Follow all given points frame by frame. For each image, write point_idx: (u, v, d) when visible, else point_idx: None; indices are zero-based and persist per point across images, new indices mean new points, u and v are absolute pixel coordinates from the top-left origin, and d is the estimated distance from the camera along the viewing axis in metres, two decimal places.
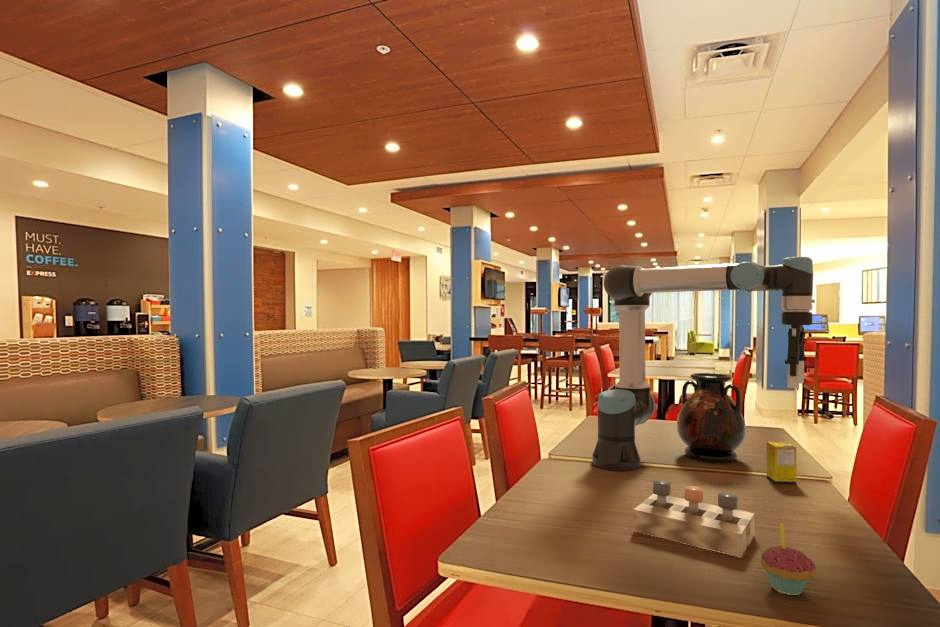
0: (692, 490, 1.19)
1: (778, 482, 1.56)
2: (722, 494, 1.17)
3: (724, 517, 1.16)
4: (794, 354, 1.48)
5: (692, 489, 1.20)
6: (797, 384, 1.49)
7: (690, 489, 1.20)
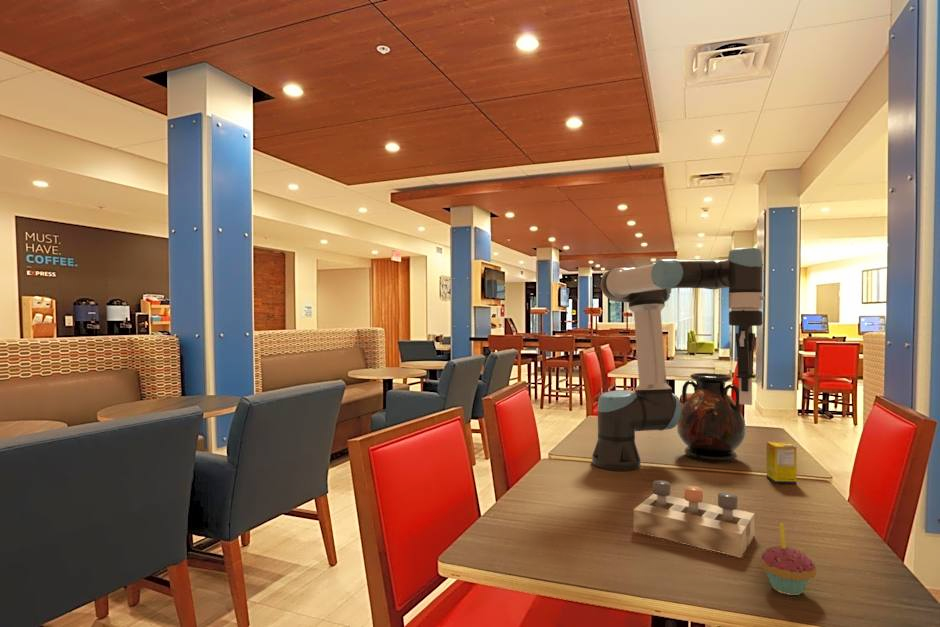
0: (692, 490, 1.19)
1: (778, 482, 1.56)
2: (722, 494, 1.17)
3: (724, 517, 1.16)
4: (745, 369, 1.32)
5: (692, 489, 1.20)
6: (749, 400, 1.35)
7: (690, 489, 1.20)
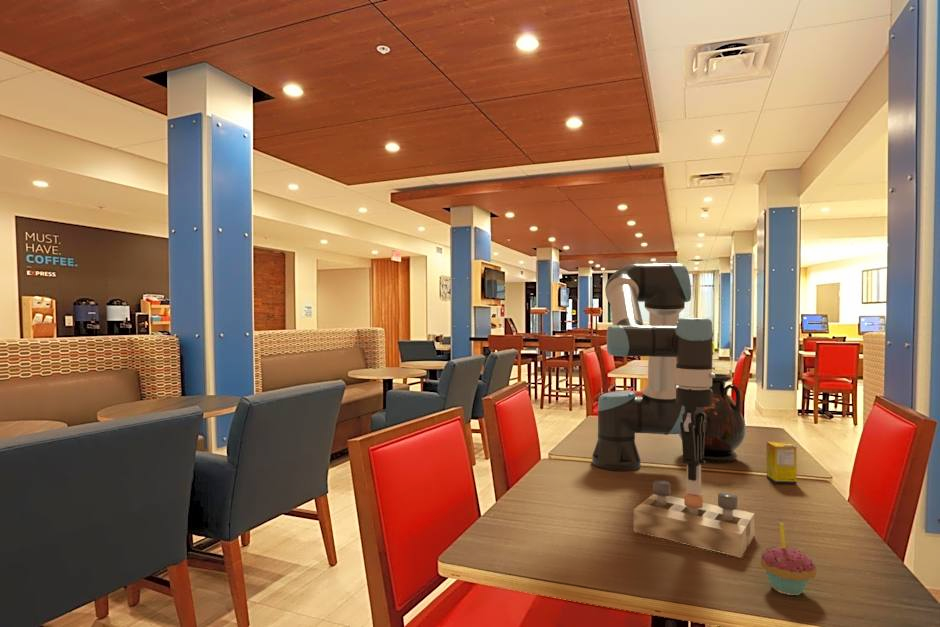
0: (692, 496, 1.19)
1: (778, 482, 1.56)
2: (722, 494, 1.17)
3: (724, 517, 1.16)
4: (690, 456, 1.17)
5: (692, 495, 1.20)
6: (697, 490, 1.19)
7: (690, 494, 1.20)
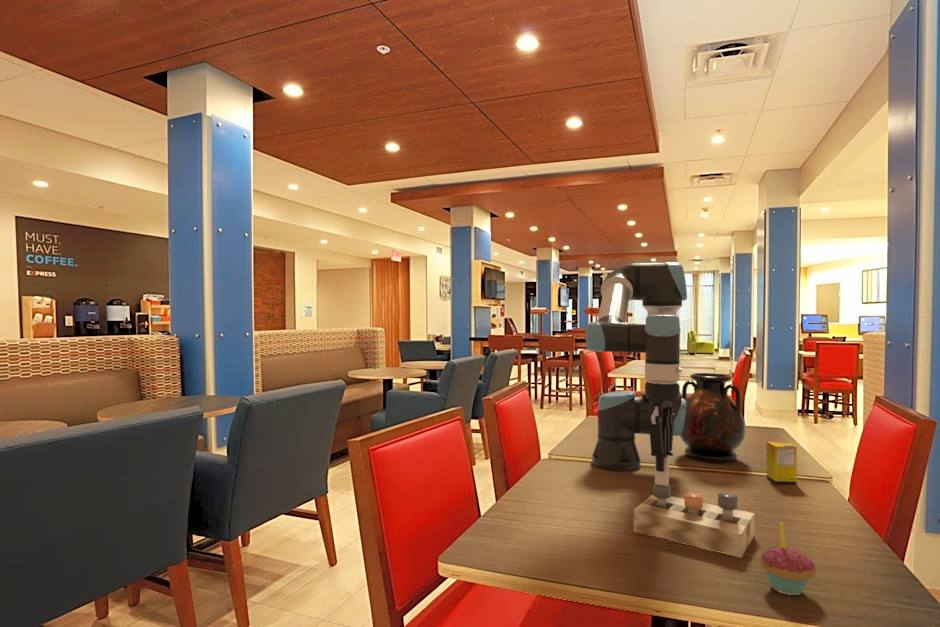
0: (692, 497, 1.19)
1: (778, 482, 1.56)
2: (722, 494, 1.17)
3: (724, 517, 1.16)
4: (658, 448, 1.21)
5: (692, 496, 1.20)
6: (665, 481, 1.23)
7: (690, 496, 1.20)
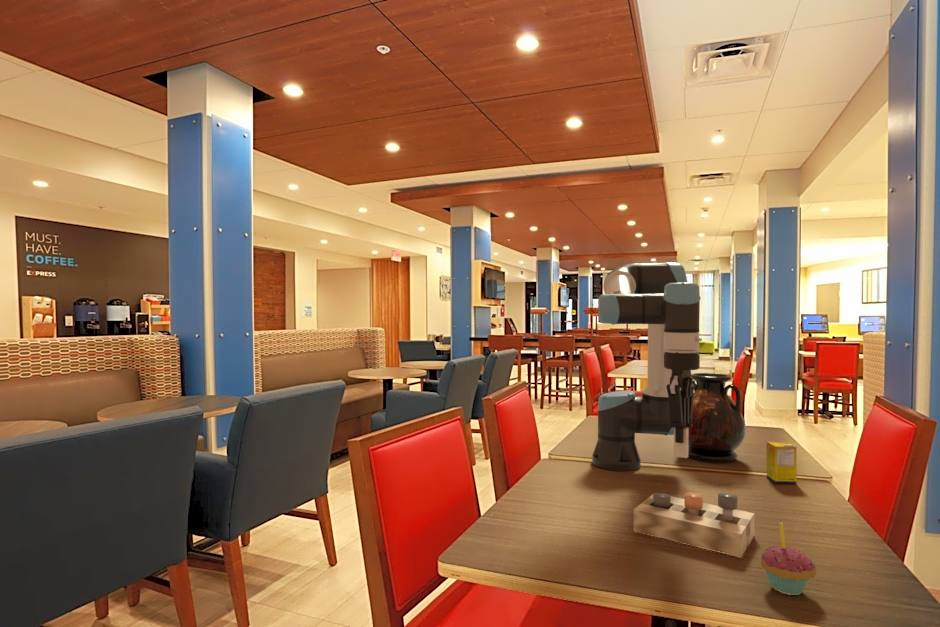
0: (692, 497, 1.19)
1: (778, 482, 1.56)
2: (722, 494, 1.17)
3: (724, 517, 1.16)
4: (677, 418, 1.18)
5: (692, 496, 1.20)
6: (684, 453, 1.20)
7: (690, 496, 1.20)
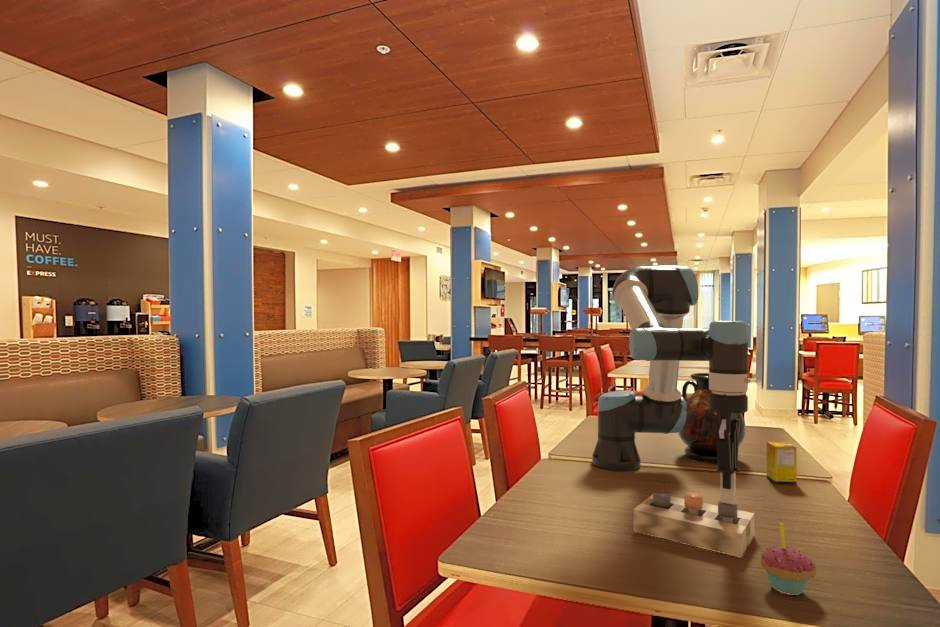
0: (692, 497, 1.19)
1: (778, 482, 1.56)
2: None
3: None
4: (726, 464, 1.13)
5: (692, 496, 1.20)
6: (732, 499, 1.15)
7: (690, 496, 1.20)
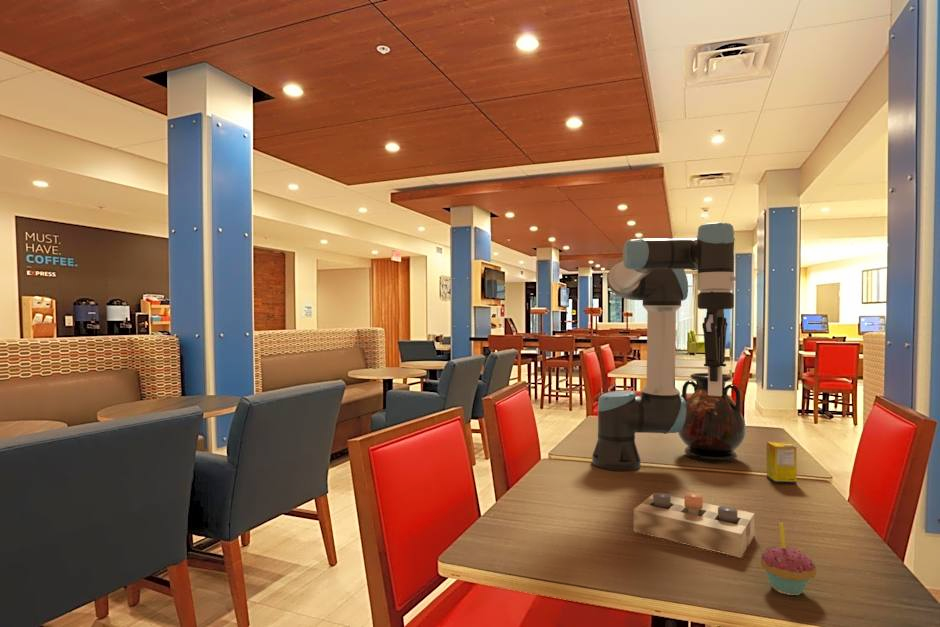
0: (692, 497, 1.19)
1: (778, 482, 1.56)
2: (722, 508, 1.17)
3: None
4: (712, 356, 1.20)
5: (692, 496, 1.20)
6: (719, 391, 1.22)
7: (690, 496, 1.20)
